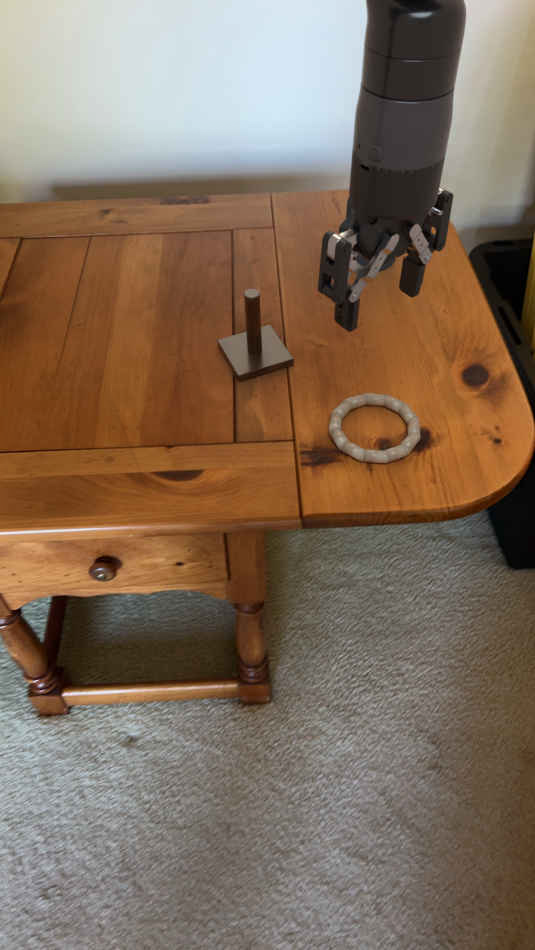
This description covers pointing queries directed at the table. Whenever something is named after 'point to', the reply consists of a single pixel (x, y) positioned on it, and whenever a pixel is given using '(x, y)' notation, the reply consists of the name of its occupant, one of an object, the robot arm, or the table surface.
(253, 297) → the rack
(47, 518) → the table surface
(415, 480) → the table surface
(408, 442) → the ring
